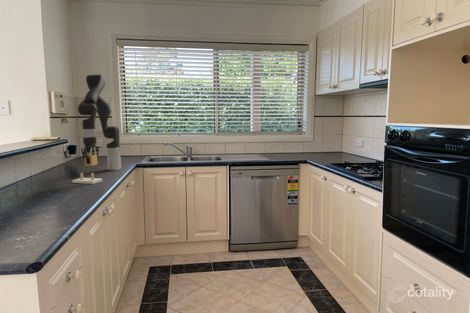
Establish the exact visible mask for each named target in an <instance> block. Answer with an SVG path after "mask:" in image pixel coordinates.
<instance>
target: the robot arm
mask: <svg viewBox="0 0 470 313" xmlns="http://www.w3.org/2000/svg"><path fill="white" fill-rule="evenodd" d="M85 81H86V85H87V88H88V91H87V93H86V94H85V97H84V99H83V100H82V101H81V102H80V103H79V105H78V107H77V112H78V114H79V115H81V116H89V118H85V119H83V120H82V122H81V124H82V143H83V145H84V147H83V148H80V151H81V155H82V158H84V159H85V158H86V163H87V164H90V155H97V157H98V156H99V153H100V152H99V151H100V146H99V145H97V146H96V144H97V132H96V116H97V115H98V118H99V121H100V125H101V129H102V134H103V136H104V138H105V139H112V141H110V142H108V143H106V156H107V157H106V158H107V170H108V171H119V170H121V169H122V157H121V150H120V128H119V127H118V126H115V125H114V126H113V125H112V126H111V125H110V126H109V125H108V121H109V119H110V115H111V112H112V111H111V107H110V103H109V102H108V100H106V99H105V98H104V97H103V96H102V95H101V93H102V92H103V90H104V88H105V86H106V80H105V77H104V75H103V74H88V75H87V76H86V78H85Z"/></svg>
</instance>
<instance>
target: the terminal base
mask: <svg viewBox="0 0 470 313" xmlns="http://www.w3.org/2000/svg"><path fill="white" fill-rule="evenodd" d="M94 174H95V173H93V172H91V173H90V177H84V173H83V172H80V173H79V177H80V178H75V179H73V180H71V183H72V184H87V185H89V184H90V185H93V184H97V183H100V182H102V181H103V178H98V177H97V178H96V177H95V175H94Z"/></svg>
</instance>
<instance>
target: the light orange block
mask: <svg viewBox="0 0 470 313" xmlns="http://www.w3.org/2000/svg"><path fill="white" fill-rule="evenodd" d="M84 165H85V166H96V165H98V156H97V155H92V154H91V155H90V164H87V163H86V158H84Z"/></svg>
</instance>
